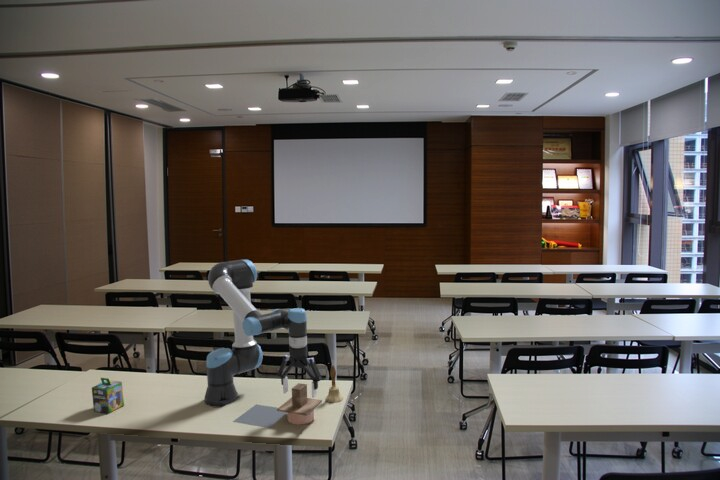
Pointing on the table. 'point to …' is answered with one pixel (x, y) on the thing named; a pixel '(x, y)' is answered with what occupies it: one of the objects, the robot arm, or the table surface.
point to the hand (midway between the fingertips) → (299, 394)
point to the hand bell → (333, 389)
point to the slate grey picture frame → (261, 416)
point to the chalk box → (107, 396)
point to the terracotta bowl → (300, 418)
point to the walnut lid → (299, 401)
